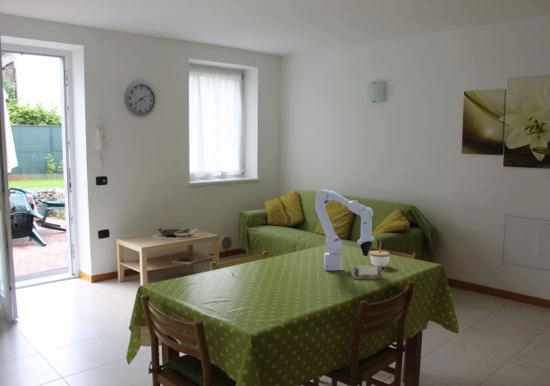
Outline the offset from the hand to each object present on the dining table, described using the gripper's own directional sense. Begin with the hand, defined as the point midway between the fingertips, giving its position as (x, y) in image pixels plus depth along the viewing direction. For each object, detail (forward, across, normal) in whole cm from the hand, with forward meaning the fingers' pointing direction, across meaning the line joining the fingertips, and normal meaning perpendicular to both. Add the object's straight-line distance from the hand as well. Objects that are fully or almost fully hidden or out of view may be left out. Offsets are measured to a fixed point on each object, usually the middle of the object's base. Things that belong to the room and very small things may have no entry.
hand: (365, 255), depth 260 cm
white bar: (+8, -6, -5) cm, 11 cm away
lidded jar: (+10, +17, 0) cm, 20 cm away
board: (+9, -4, -2) cm, 10 cm away
